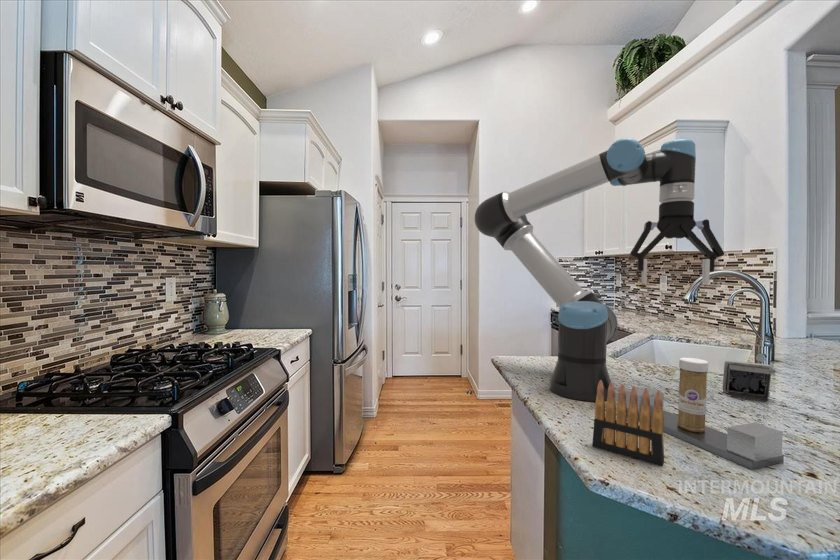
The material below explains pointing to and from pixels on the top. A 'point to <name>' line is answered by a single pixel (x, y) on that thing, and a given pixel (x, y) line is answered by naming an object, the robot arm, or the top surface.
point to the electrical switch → (747, 380)
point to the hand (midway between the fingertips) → (673, 284)
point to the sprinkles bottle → (692, 394)
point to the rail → (725, 438)
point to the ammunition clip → (629, 425)
